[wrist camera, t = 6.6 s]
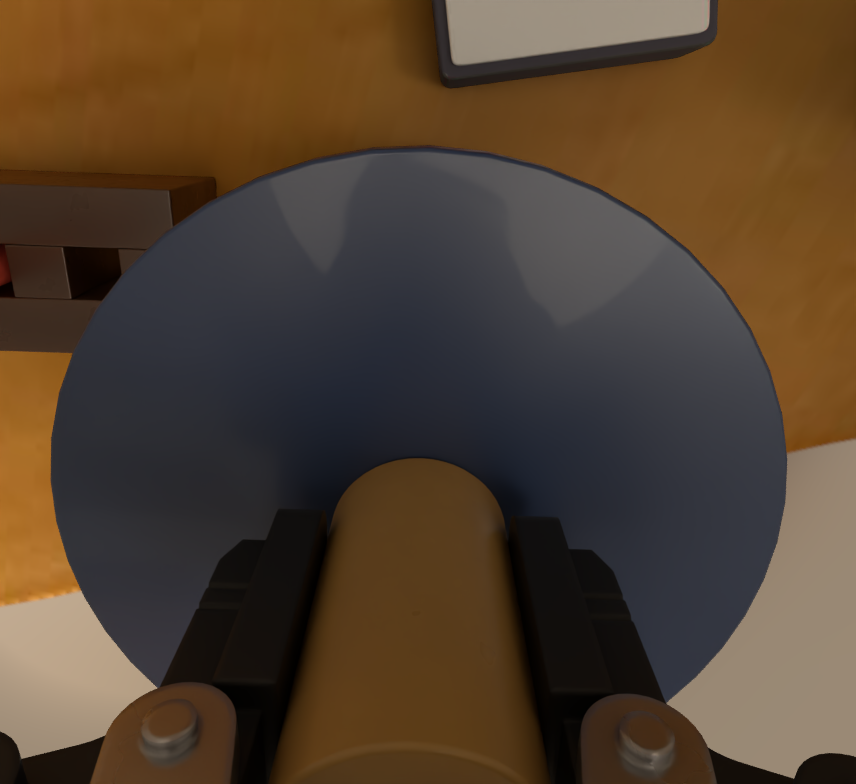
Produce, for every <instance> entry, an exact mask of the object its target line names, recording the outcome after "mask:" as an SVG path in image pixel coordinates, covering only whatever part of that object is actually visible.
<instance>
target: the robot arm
mask: <svg viewBox="0 0 856 784" xmlns="http://www.w3.org/2000/svg"><path fill="white" fill-rule="evenodd" d="M326 543H327V517H326V512H325V510H308V509H278V511H277V513H276V515H275V518H274V520H273V523H272V525H271V528H270V531H269V533H268V536H267V538H266V540H249V539H243V540H241V541H240V542H239V543H238V544H237V545H236V546H235V547H233V548H232V549H231V550H230V551H229V552H228V553H227V554H225V555H224V556H223V557H222V558H221V559H220V560H219V562H218V564H217V566H216V569H215V571H214V573H213V575H212V577H211V579H210V581H209V583H208V584H209V585H208V588H206V590H205V592H204V594H203V596H202V598H201V600H200V602H199V608H198V609H196V611H195V613H194V615H193V617H192V619H191V622H190V624H189V626H188V628H187V630H186V632H185V634H184V636H183V638H182V641H181V643H180V645H179V647H178V649H177V651H176V653H175V655H174V658H173V660H172V662H171V664H170V666H169V668H168V670H167V672H166V675H165V677H164V679H163V681H162V683H161V685H160V687H159V688H157V689H155V690H153V691H150V692H148V693H146V694H145V695H143V696H141V697H139V698H138V699H136V700H135V701H134V702H132V703H131V704H129V705H128V706H127V707H126V708H125V709H124V710H123V711H122V712H121V713H120V714H119V715H118V716H117V717H116V719H115V720H114V721H113V723H112V724H111V726H110V728H109V729H108V731H107V733H106V735H105V736H103V737H101V738H98V739H96V740H93V741H91V742H87V743H83V744H80V745H76V746H72V747H68V748H64V749H60V750H56V751H52V752H48V753H44V754H40V755H36V756H32V757H28V758H24V759H21V757H20V753H19V750H18V747H17V745H16V743H15V742H14V741H13V740H12V738H10V737H9V736H8V735H6V734H4V733H2V732H0V784H268V782H269V778H270V774H271V769H272V765H273V761H274V757H275V753H276V749H277V745H278V741H279V737H280V732H281V728H282V724H283V720H284V716H285V712H286V708H287V704H288V700H289V696H290V691H291V687H292V683H293V679H294V675H295V671H296V667H297V663H298V659H299V654H300V650H301V646H302V642H303V638H304V634H305V630H306V626H307V622H308V617H309V613H310V609H311V605H312V601H313V597H314V593H315V589H316V585H317V580H318V576H319V572H320V568H321V564H322V560H323V556H324V552H325V548H326ZM508 545H509V551H510V557H511V562H512V568H513V573H514V579H515V584H516V590H517V596H518V601H519V607H520V612H521V618H522V624H523V629H524V635H525V640H526V646H527V652H528V657H529V663H530V668H531V674H532V679H533V685H534V691H535V696H536V702H537V707H538V713H539V719H540V724H541V730H542V735H543V741H544V747H545V752H546V758H547V763H548V769H549V775H550V780H551V784H856V757H854V756H850V755H844V754H835V753H827V754H819V755H816V756H813V757H810V758H809V759H807V760H806V761H804V762H803V763H802V765H801V766H800V767H799V768H798V771H797V773H796V776H795V778H794V779H793V778H789V777H786V776H783V775H780V774H777V773H773V772H770V771H767V770H763V769H760V768H757V767H753V766H750V765H747V764H744V763H741V762H738V761H735V760H732V759H730V758H727V757H725V756H723V755H721V754H718V753H717V752H715V751H713V750H711V749H710V748H708V747H707V744H706V743H705V741H704V739H703V737H702V735H701V734H700V733H699V731H698V730H697V729H696V727H695V726H694V725H693V724H692V723H691V722H690V721H689V720H688V719H687V718H686V717H685V716H683V715H682V714H681V713H680V712H678V711H677V710H675V709H674V708H672V707H670V706H669V705H667V704H666V702H665V699H664V697H663V694H662V692H661V689H660V687H659V684H658V682H657V679H656V677H655V674H654V672H653V669H652V667H651V664H650V662H649V659H648V657H647V654H646V652H645V649H644V647H643V644H642V642H641V639H640V637H639V634H638V632H637V629H636V627H635V624H634V622H633V621H631V614H630V611H629V609H628V606H627V604H626V601H625V600H623V594H622V591H621V589H620V586H619V584H618V581H617V579H616V576H615V574H614V571H613V570H612V569H611V568H610V567H609V566H608V565H607V564H606V563H605V562H604V561H603V560H602V559H601V558H600V557H599V556H598V555H597V554H596V553H595V552H594V551H593V550H588V549H569V548H568V545H567V541H566V538H565V535H564V532H563V529H562V526H561V523H560V520H559V518H558V517H539V516H512V517H511V521H510V527H509V537H508Z"/></svg>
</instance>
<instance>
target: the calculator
mask: <svg viewBox="0 0 856 784" xmlns="http://www.w3.org/2000/svg"><path fill="white" fill-rule="evenodd" d="M432 8H433V17H434V27H435V36H436V45H437V55H438V64H439V73H440V79H441V82H442V84H443V85H444V86H445V87H447V88H458V87H465V86H473V85H480V84H487V83H495V82H502V81H510V80H517V79H524V78H532V77H539V76H547V75H554V74H562V73H569V72H576V71H584V70H591V69H599V68H606V67H613V66H621V65H628V64H636V63H643V62H650V61H658V60H665V59H673V58H678V57H681V56H683V55H686V54H688V53H691V52H693V51H695V50H698V49H700V48H703V47H705V46H707V45H709V44H710V43H712V42H713V41H714V39H715V37H716V34H717V11H718V0H432Z"/></svg>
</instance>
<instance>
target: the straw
mask: <svg viewBox="0 0 856 784" xmlns="http://www.w3.org/2000/svg"><path fill="white" fill-rule="evenodd" d="M5 245H6V244H0V286H1V285H4V284H6V283H9V282H12V279H11V275H10V270H9V265H8V260H7V255H6V250H5Z"/></svg>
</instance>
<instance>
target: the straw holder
mask: <svg viewBox="0 0 856 784" xmlns="http://www.w3.org/2000/svg"><path fill="white" fill-rule="evenodd" d="M214 199H216V189H215V179H214V178H213V177H189V176H161V175H134V174H107V173H79V172H52V171H25V170H0V244H6V245H5V250H6V255H7V260H8V265H9V270H10V275H11V279H12V282H9V283H6V284H4V285H1V286H0V351H29V352H59V353H73V352H74V349H75V347H76V345H77V344H78V342H79V340H80V338H81V336H82V334H83V332H84V331H85V329H86V327H87V325H88V323H89V321H90V319H91V318H92V316H93V314H94V312H95V310H96V308H97V307H98V306H99V304H100V303H101V302H102V300H103V299H104V298H105V296H106V295H107V294H108V292H109V291H110V290H111V289H112V287H113V286H114V285H115V283H116V282H117V281H118V279H119V278H120V277H121V275H122V274H123V273H124V272H125V270H126V269H127V268H128V267H129V266H130V265H131V264H132V263H133V262H134V261H135V260H136V259H137V258H138V257H139V256H141V255H142V254H143V253H144V252H145V251H146V250H147V249H148V248H149V247H150V246H151V245H152V244H153V243H154V242H155V241H156V240H157V239H158V238H159V237H160V236H161V235H162V234H164V233H165V232H166V231H168V230H169V229H171V228H172V227H173V226H175V225H176V224H178V223H179V222H181V221H182V220H183V219H185V218H186V217H188V216H189V215H191V214H192V213H193V212H195V211H196V210H198V209H199V208H201V207H202V206H203V205H205V204H206V203H208V202H210V201H212V200H214Z"/></svg>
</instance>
